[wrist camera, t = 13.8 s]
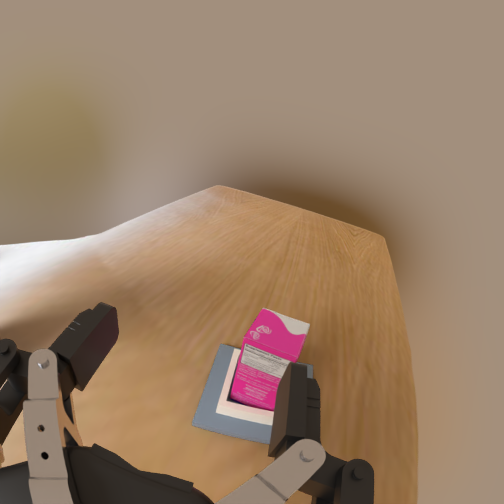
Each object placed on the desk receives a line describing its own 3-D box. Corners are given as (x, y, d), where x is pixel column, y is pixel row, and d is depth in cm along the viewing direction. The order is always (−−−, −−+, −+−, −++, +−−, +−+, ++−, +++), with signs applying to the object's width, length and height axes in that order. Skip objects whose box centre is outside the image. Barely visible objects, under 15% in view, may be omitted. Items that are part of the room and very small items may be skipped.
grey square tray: (192, 425, 28) (193, 413, 26) (219, 348, 40) (222, 333, 39) (308, 449, 27) (317, 439, 26) (310, 369, 40) (317, 356, 38)
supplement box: (244, 369, 36) (263, 304, 31) (285, 386, 35) (313, 324, 30) (226, 399, 31) (243, 335, 26) (271, 418, 30) (301, 358, 25)
